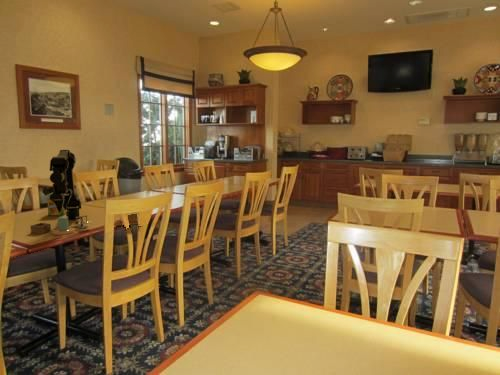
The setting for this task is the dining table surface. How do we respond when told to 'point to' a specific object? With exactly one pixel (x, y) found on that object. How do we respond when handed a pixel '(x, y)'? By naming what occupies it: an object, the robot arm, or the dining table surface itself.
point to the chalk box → (54, 209)
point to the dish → (63, 231)
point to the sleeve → (40, 228)
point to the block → (63, 224)
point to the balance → (81, 222)
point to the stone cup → (131, 218)
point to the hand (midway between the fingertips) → (62, 210)
